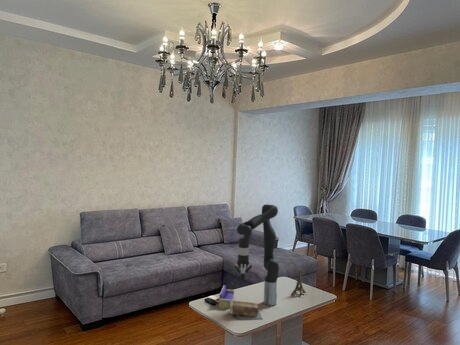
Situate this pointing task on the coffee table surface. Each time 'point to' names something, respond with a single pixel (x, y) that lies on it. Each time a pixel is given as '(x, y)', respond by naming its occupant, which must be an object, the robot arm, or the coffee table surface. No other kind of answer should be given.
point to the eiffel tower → (299, 284)
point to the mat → (249, 316)
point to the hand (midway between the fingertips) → (242, 278)
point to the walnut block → (244, 308)
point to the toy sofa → (225, 297)
